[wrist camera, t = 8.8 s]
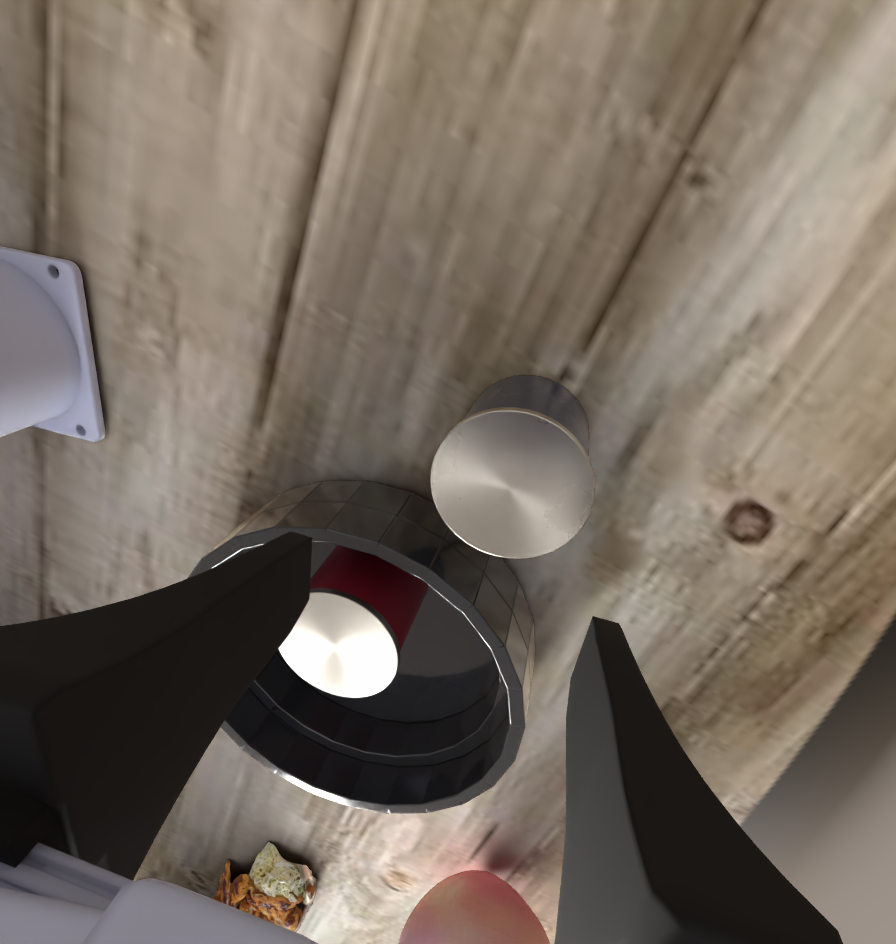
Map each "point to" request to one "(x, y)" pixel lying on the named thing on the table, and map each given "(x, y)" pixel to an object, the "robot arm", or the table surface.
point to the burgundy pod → (354, 624)
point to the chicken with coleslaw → (270, 889)
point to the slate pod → (516, 470)
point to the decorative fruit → (473, 914)
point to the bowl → (420, 670)
